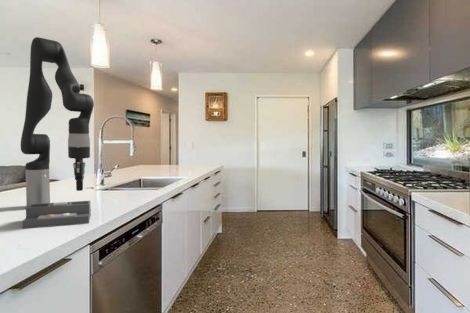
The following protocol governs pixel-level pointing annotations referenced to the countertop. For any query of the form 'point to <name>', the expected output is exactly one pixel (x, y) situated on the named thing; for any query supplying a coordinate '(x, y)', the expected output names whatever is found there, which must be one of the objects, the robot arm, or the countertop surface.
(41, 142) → the robot arm
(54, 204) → the key sage
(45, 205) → the keypad
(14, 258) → the countertop surface
